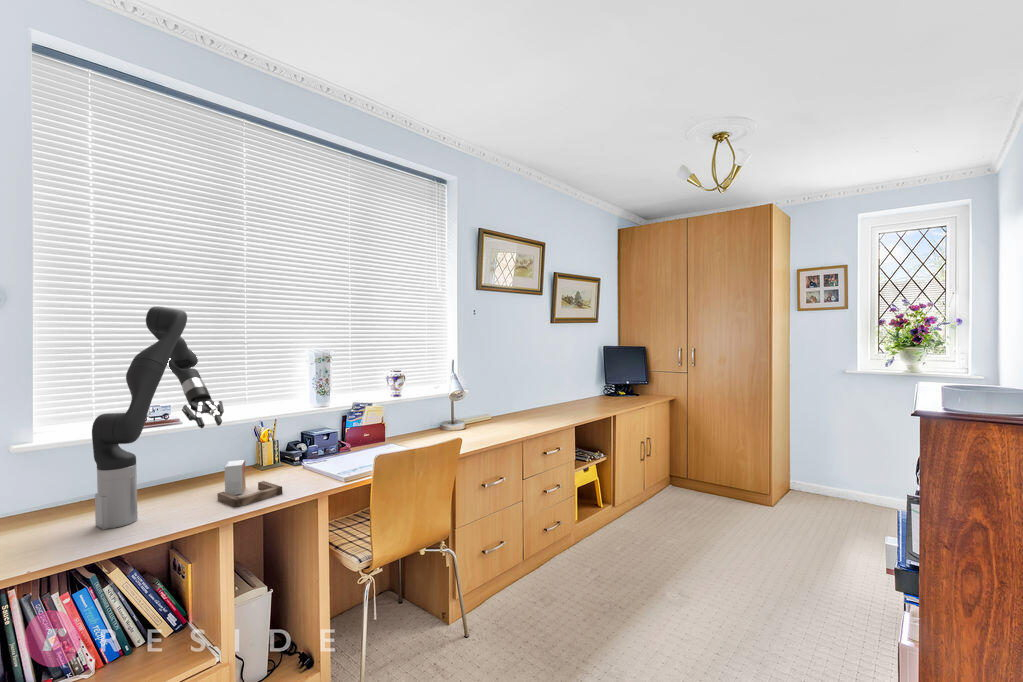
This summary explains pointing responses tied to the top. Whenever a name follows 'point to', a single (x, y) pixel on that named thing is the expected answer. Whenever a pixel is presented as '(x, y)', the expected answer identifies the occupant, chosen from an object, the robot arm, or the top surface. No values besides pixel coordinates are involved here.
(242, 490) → the small box
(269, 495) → the walnut bay
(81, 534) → the top surface
